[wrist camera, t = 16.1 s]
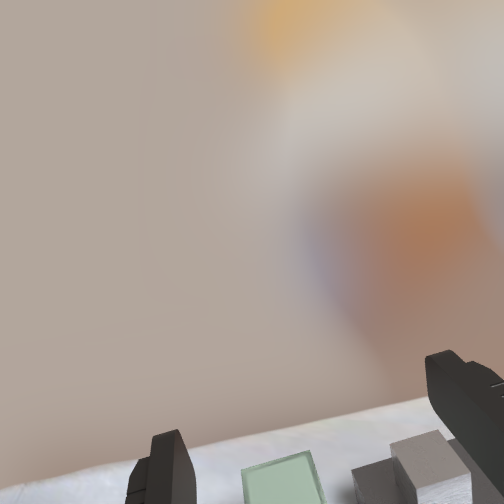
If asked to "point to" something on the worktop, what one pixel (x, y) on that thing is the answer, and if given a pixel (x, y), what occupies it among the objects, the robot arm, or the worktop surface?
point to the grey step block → (425, 475)
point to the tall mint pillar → (283, 481)
